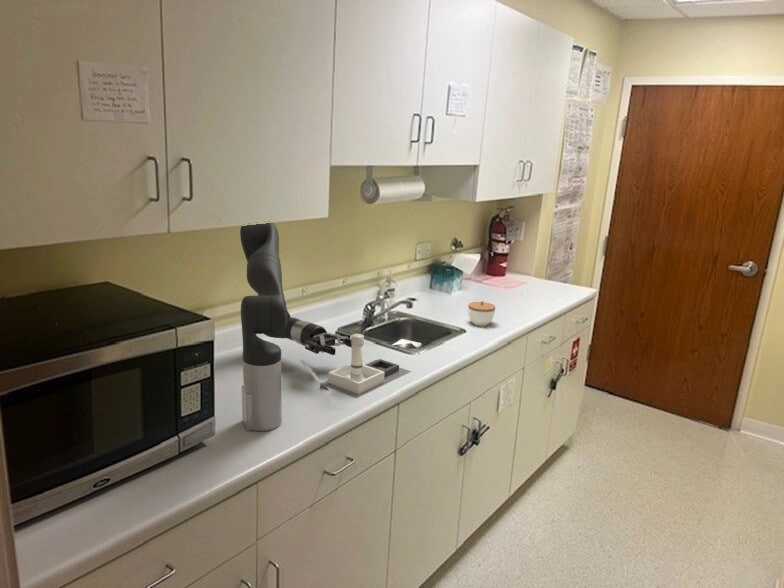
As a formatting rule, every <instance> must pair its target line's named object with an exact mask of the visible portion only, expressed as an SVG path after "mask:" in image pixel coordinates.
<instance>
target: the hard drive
mask: <svg viewBox="0 0 784 588" xmlns="http://www.w3.org/2000/svg"><path fill="white" fill-rule="evenodd" d="M404 344H412V345H413V346H414V347H415V348H417V349H419V348H420V347H422V343H421V342H416V341H413V340H407V339H403V338H401V339H399V340H398V341H396V342H394V343H393V344H392V346H397V345H398V346H399V345H404Z"/></svg>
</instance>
